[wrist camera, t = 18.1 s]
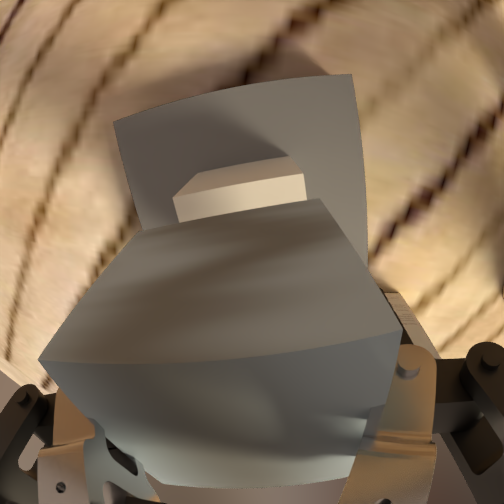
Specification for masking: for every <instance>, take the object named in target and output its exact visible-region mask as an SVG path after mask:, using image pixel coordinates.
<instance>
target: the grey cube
mask: <svg viewBox="0 0 504 504" xmlns="http://www.w3.org/2000/svg"><path fill="white" fill-rule="evenodd" d="M402 332H403V328H402V327H401V325H400V323H399V321H398V319H397V318H396V316H395V314H394V312H393V311H392V309H391V307H390V305H389V304H388V302H387V300H386V299H385V297H384V295H383V294H382V292H381V290H380V289H379V287H378V285H377V284H376V282H375V280H374V279H373V277H372V276H371V274H370V272H369V271H368V269H367V268H366V266H365V264H364V263H363V261H362V260H361V258H360V257H359V255H358V254H357V252H356V251H355V249H354V247H353V246H352V244H351V243H350V241H349V240H348V238H347V237H346V235H345V234H344V233H343V231H342V230H341V228H340V227H339V225H338V224H337V222H336V221H335V219H334V218H333V217H332V215H331V214H330V212H329V211H328V209H327V208H326V207H325V205H324V204H323V202H322V201H321V200H320V198H317V199H310V200H304V201H297V202H291V203H285V204H279V205H273V206H267V207H261V208H255V209H249V210H244V211H238V212H233V213H227V214H222V215H216V216H211V217H206V218H201V219H196V220H191V221H186V222H181V223H176V224H171V225H166V226H161V227H157V228H152V229H147V230H143V231H138V232H137V234H136V235H135V236H134V237H133V238H132V239H131V240H130V241H129V242H128V244H127V245H126V246H125V247H124V248H123V249H122V250H121V251H120V253H119V254H118V255H117V256H116V257H115V258H114V260H113V261H112V262H111V263H110V264H109V265H108V267H107V268H106V269H105V270H104V271H103V273H102V274H101V275H100V276H99V277H98V279H97V280H96V281H95V282H94V284H93V285H92V286H91V287H90V288H89V290H88V291H87V292H86V294H85V295H84V296H83V297H82V299H81V300H80V301H79V302H78V304H77V305H76V306H75V308H74V309H73V310H72V312H71V313H70V314H69V316H68V317H67V318H66V320H65V321H64V322H63V324H62V325H61V326H60V328H59V329H58V331H57V332H56V333H55V335H54V336H53V338H52V339H51V341H50V342H49V343H48V345H47V346H46V348H45V349H44V351H43V352H42V354H41V355H40V357H39V358H38V361H39V362H40V363H41V365H42V366H43V367H44V369H45V370H46V371H47V373H48V374H49V375H50V377H51V378H52V379H53V380H54V382H55V383H56V384H57V385H58V386H59V388H60V389H61V390H62V391H63V392H64V394H65V395H66V396H67V397H68V398H69V399H70V401H71V402H72V403H73V404H74V405H75V406H76V407H77V408H78V409H79V410H80V412H81V413H82V414H83V415H84V416H85V417H87V418H93V419H95V420H96V421H97V422H98V423H99V424H100V425H101V426H102V427H103V428H104V430H105V437H106V438H107V439H109V440H110V441H111V442H112V443H113V444H114V445H115V446H116V447H117V448H118V449H120V450H121V451H122V452H123V453H124V454H125V455H127V456H129V457H135V458H136V459H137V460H138V461H140V462H141V463H142V464H143V467H144V470H145V471H146V472H148V473H149V474H150V475H152V476H153V477H154V478H156V479H157V480H158V481H160V482H161V483H163V484H171V485H179V486H191V487H204V488H265V487H266V488H267V487H281V486H291V485H300V484H307V483H314V482H321V481H328V480H333V479H338V478H343V477H348V476H349V474H350V471H351V468H352V465H353V463H354V460H355V457H356V454H357V451H358V448H359V445H360V441H361V438H362V436H363V432H364V429H365V426H366V422H367V418H368V415H369V411H370V408H371V407H375V406H379V405H383V404H386V400H387V397H388V393H389V390H390V386H391V382H392V378H393V374H394V370H395V365H396V361H397V357H398V352H399V347H400V342H401V337H402Z"/></svg>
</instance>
